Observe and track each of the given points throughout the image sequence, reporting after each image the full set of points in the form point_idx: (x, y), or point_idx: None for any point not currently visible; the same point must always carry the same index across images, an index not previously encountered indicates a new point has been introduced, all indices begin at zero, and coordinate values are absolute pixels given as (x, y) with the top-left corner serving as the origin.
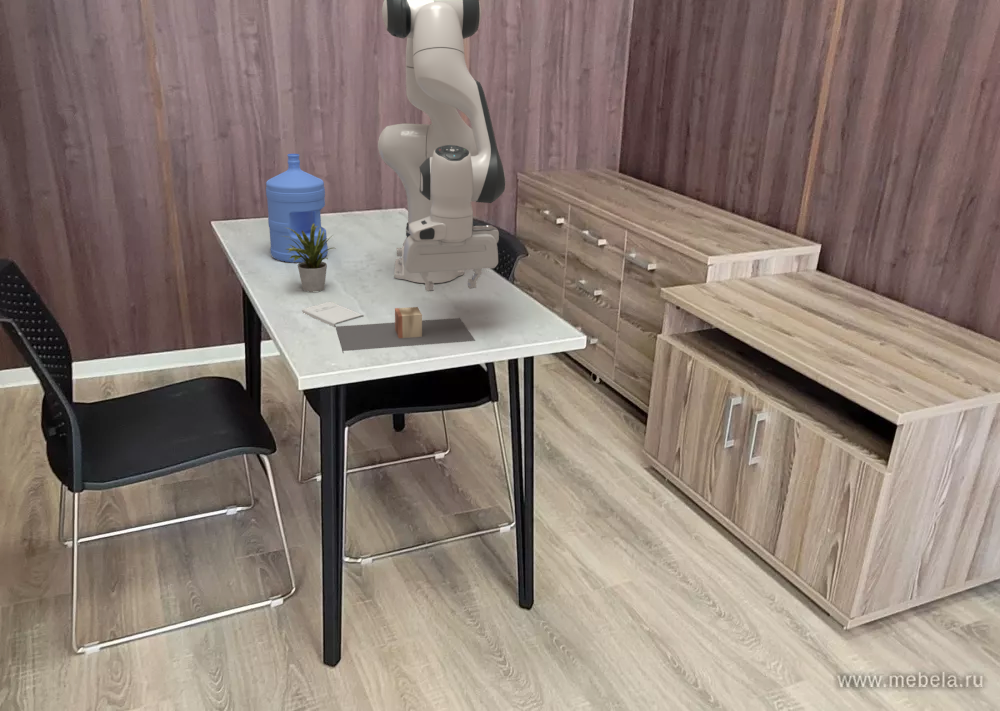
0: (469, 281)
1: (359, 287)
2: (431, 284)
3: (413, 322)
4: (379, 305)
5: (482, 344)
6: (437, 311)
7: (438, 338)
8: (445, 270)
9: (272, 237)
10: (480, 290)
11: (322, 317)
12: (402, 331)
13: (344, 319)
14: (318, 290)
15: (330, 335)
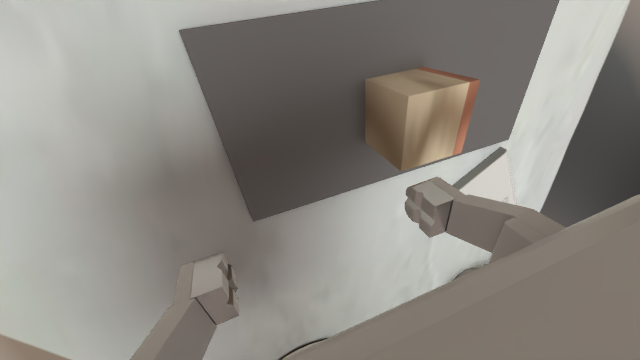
0: (226, 289)
1: (410, 299)
2: (442, 201)
3: (417, 84)
4: (402, 251)
5: (145, 13)
6: (305, 252)
7: (320, 60)
8: (449, 287)
9: None
10: (215, 357)
11: (510, 176)
12: (428, 72)
13: (487, 169)
14: (463, 273)
15: (525, 103)
